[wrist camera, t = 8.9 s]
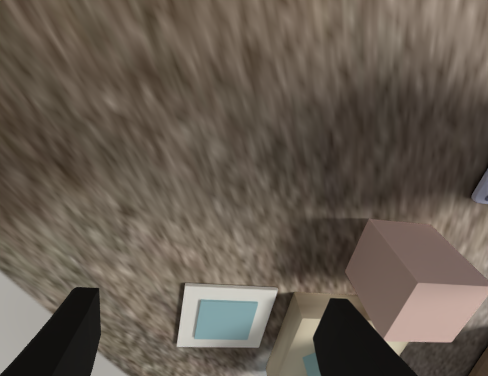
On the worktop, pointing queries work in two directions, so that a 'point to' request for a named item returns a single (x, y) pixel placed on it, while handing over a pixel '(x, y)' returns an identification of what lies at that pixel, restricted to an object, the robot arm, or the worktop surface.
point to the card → (224, 315)
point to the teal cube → (311, 365)
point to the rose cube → (414, 282)
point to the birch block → (306, 332)
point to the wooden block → (481, 366)
